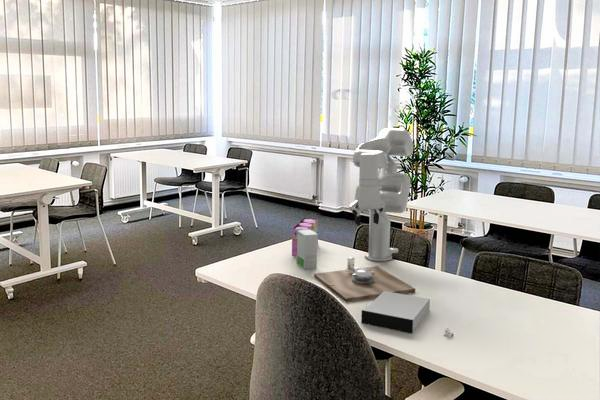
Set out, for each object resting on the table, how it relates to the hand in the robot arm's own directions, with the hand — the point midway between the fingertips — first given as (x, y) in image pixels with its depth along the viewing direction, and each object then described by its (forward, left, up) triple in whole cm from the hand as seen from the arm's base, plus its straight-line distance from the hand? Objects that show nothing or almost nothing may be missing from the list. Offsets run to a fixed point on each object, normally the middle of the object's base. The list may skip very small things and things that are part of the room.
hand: (366, 223), depth 239 cm
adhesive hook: (+3, +64, -23) cm, 68 cm away
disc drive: (+11, +44, -23) cm, 51 cm away
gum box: (+11, -41, -22) cm, 48 cm away
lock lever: (+7, +7, -19) cm, 21 cm away
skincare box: (+19, -19, -22) cm, 35 cm away
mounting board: (+7, +11, -22) cm, 26 cm away
